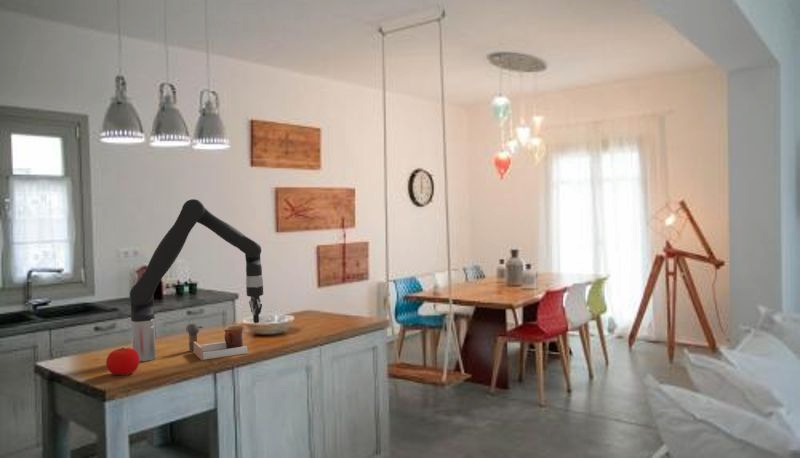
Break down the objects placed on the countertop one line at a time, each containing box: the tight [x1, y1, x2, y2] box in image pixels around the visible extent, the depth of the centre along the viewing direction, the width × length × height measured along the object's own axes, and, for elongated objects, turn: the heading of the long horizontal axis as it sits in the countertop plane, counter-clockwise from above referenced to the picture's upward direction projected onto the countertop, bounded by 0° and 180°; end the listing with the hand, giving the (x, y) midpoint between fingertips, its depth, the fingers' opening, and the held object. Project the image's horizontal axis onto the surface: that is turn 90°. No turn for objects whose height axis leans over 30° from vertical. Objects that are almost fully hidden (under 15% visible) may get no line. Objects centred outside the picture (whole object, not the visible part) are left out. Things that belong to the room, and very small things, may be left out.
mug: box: [223, 325, 245, 349], centre depth 268 cm, size 12×9×10 cm
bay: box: [193, 341, 249, 361], centre depth 265 cm, size 20×16×5 cm
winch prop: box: [185, 322, 203, 353], centre depth 271 cm, size 7×4×12 cm, turn 120°
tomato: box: [105, 347, 141, 376], centre depth 234 cm, size 11×12×10 cm
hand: (256, 322), depth 273 cm, fingers closed
